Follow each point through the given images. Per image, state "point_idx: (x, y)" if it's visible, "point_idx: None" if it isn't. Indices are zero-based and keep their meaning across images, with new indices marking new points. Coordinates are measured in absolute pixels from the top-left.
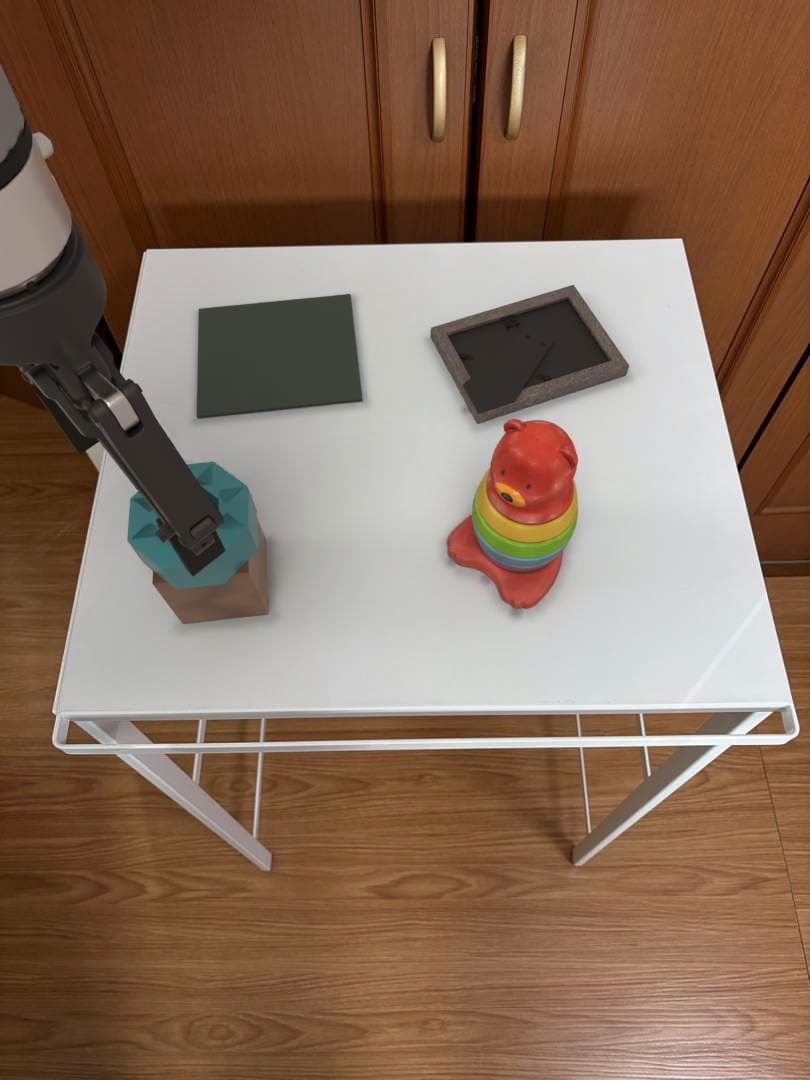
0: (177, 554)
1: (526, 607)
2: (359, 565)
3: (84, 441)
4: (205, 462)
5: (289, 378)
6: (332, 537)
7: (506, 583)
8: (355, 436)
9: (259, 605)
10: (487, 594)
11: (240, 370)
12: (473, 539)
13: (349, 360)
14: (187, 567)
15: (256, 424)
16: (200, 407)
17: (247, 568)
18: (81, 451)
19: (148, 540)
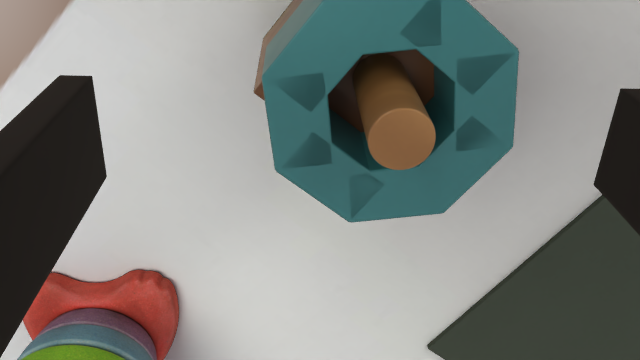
0: (53, 112)
1: None
2: (229, 183)
3: (628, 131)
4: (453, 202)
5: (539, 310)
6: (293, 187)
7: (56, 297)
8: (393, 306)
9: (265, 44)
10: (76, 264)
11: (613, 276)
12: (135, 313)
13: None
14: (38, 95)
15: (527, 233)
16: None
17: (262, 96)
18: (621, 99)
19: (406, 14)
